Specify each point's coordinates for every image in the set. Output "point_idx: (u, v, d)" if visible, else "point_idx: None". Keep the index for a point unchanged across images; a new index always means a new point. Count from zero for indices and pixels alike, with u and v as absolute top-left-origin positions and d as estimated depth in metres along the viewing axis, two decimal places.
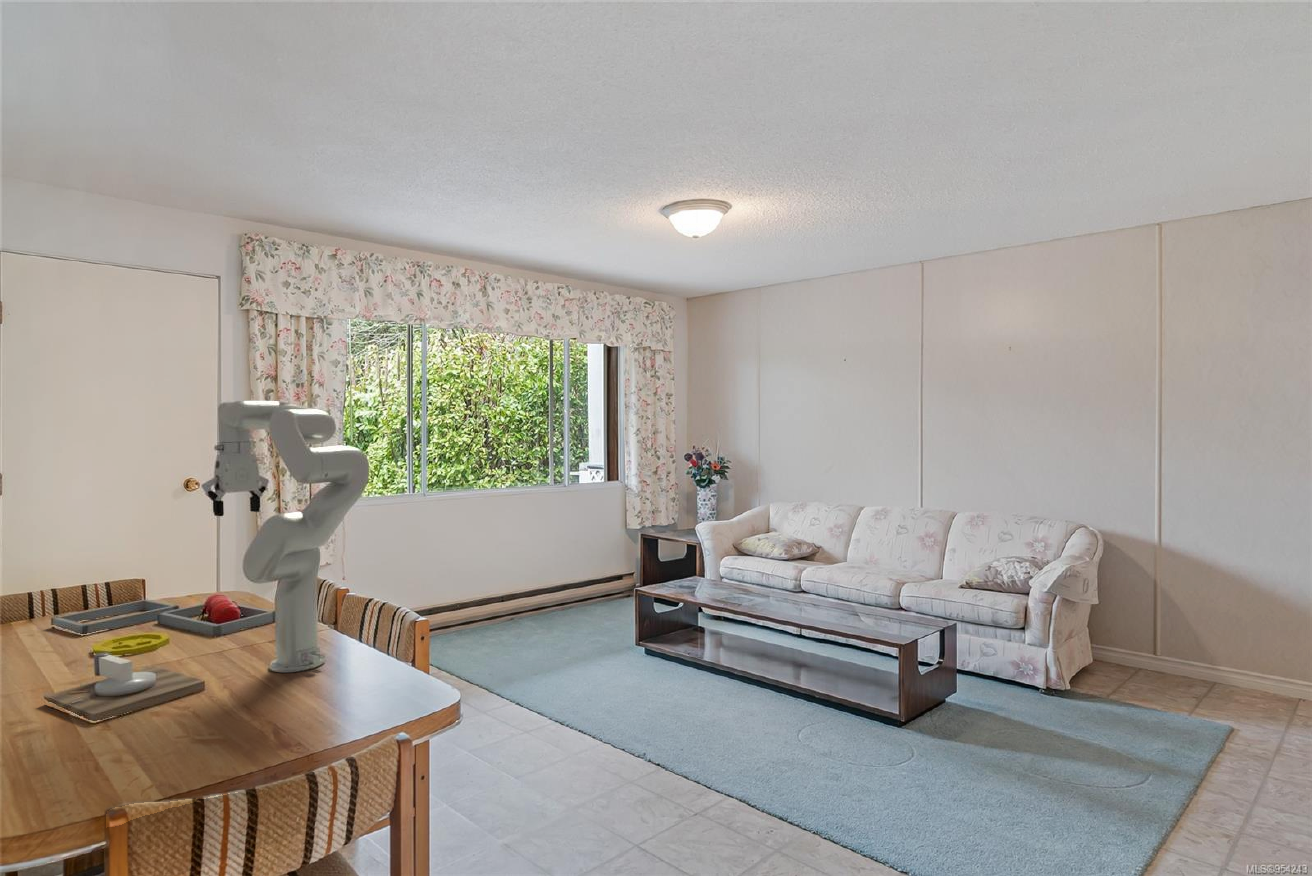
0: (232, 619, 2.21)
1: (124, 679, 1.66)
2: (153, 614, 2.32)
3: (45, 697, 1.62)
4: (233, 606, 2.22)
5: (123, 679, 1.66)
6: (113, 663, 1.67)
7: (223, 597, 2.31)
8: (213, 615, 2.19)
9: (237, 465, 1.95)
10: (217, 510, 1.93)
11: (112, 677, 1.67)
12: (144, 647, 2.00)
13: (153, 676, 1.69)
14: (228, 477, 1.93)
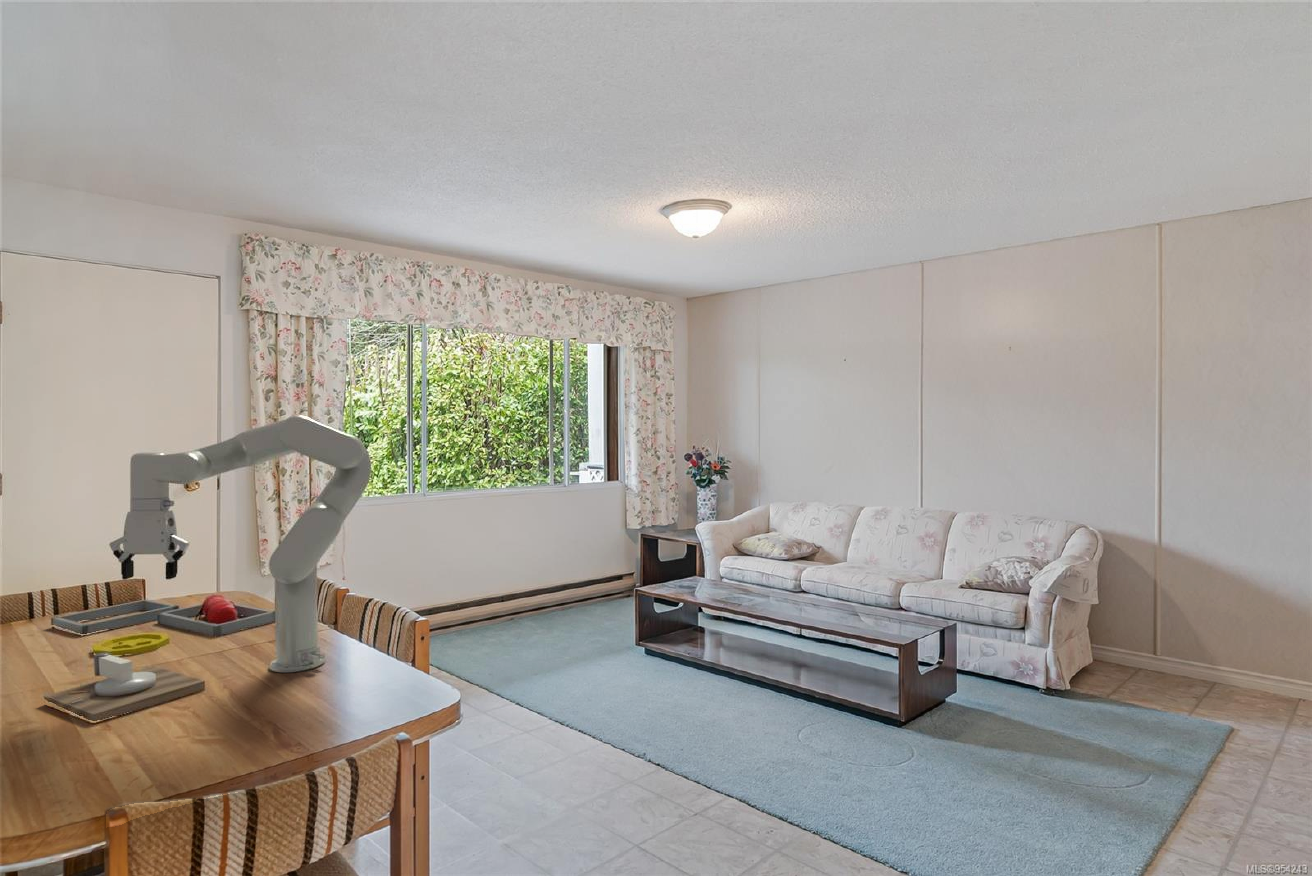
0: (228, 620, 2.20)
1: (124, 679, 1.66)
2: (153, 614, 2.32)
3: (45, 697, 1.62)
4: (229, 607, 2.22)
5: (123, 679, 1.66)
6: (113, 663, 1.67)
7: (220, 597, 2.31)
8: (209, 616, 2.19)
9: None
10: None
11: (112, 677, 1.67)
12: (144, 647, 2.00)
13: (153, 676, 1.69)
14: None
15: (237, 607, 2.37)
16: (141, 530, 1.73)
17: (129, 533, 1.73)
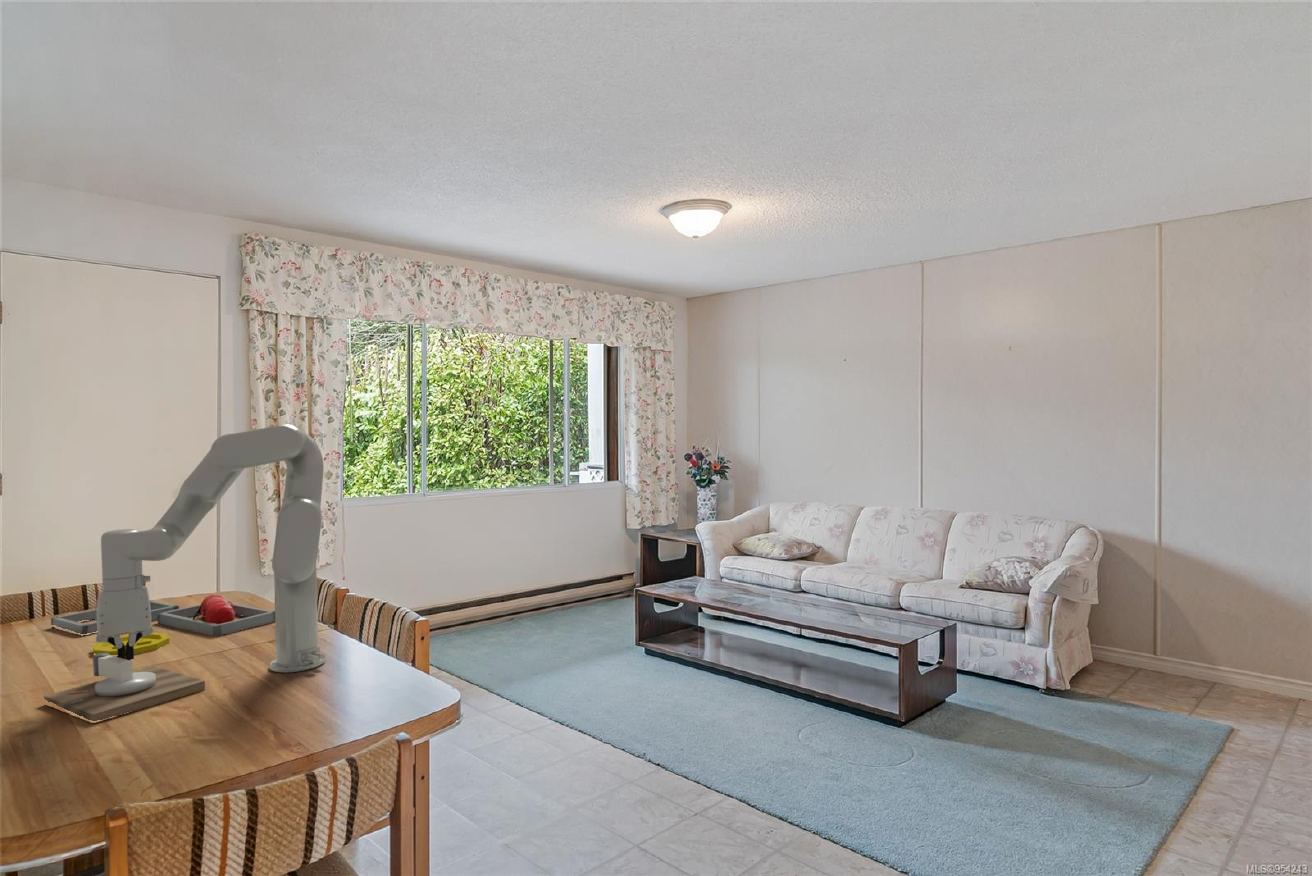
0: (226, 620, 2.20)
1: (124, 679, 1.66)
2: (153, 614, 2.32)
3: (45, 697, 1.62)
4: (227, 607, 2.21)
5: (123, 679, 1.66)
6: (113, 663, 1.67)
7: (219, 597, 2.31)
8: (207, 616, 2.19)
9: None
10: None
11: (112, 677, 1.67)
12: (144, 647, 2.00)
13: (153, 676, 1.69)
14: None
15: (237, 607, 2.37)
16: (122, 610, 1.70)
17: (107, 615, 1.68)
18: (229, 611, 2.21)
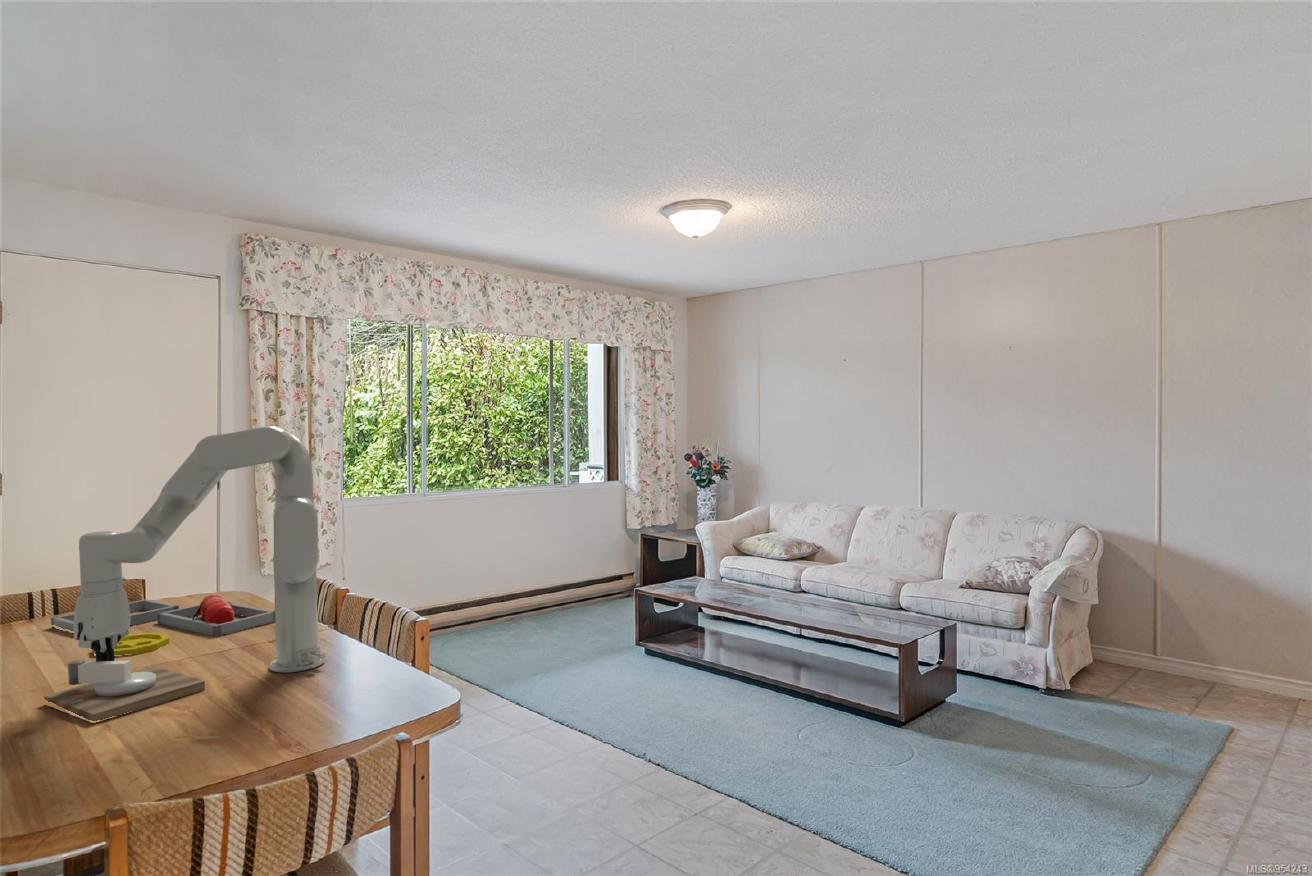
0: (225, 620, 2.20)
1: (126, 679, 1.66)
2: (153, 614, 2.32)
3: (45, 697, 1.62)
4: (227, 607, 2.21)
5: (126, 679, 1.66)
6: (109, 666, 1.65)
7: (218, 598, 2.31)
8: (207, 616, 2.19)
9: None
10: None
11: (106, 680, 1.65)
12: (144, 647, 2.00)
13: (151, 673, 1.71)
14: None
15: (237, 607, 2.37)
16: (109, 612, 1.68)
17: (96, 618, 1.65)
18: (229, 611, 2.21)
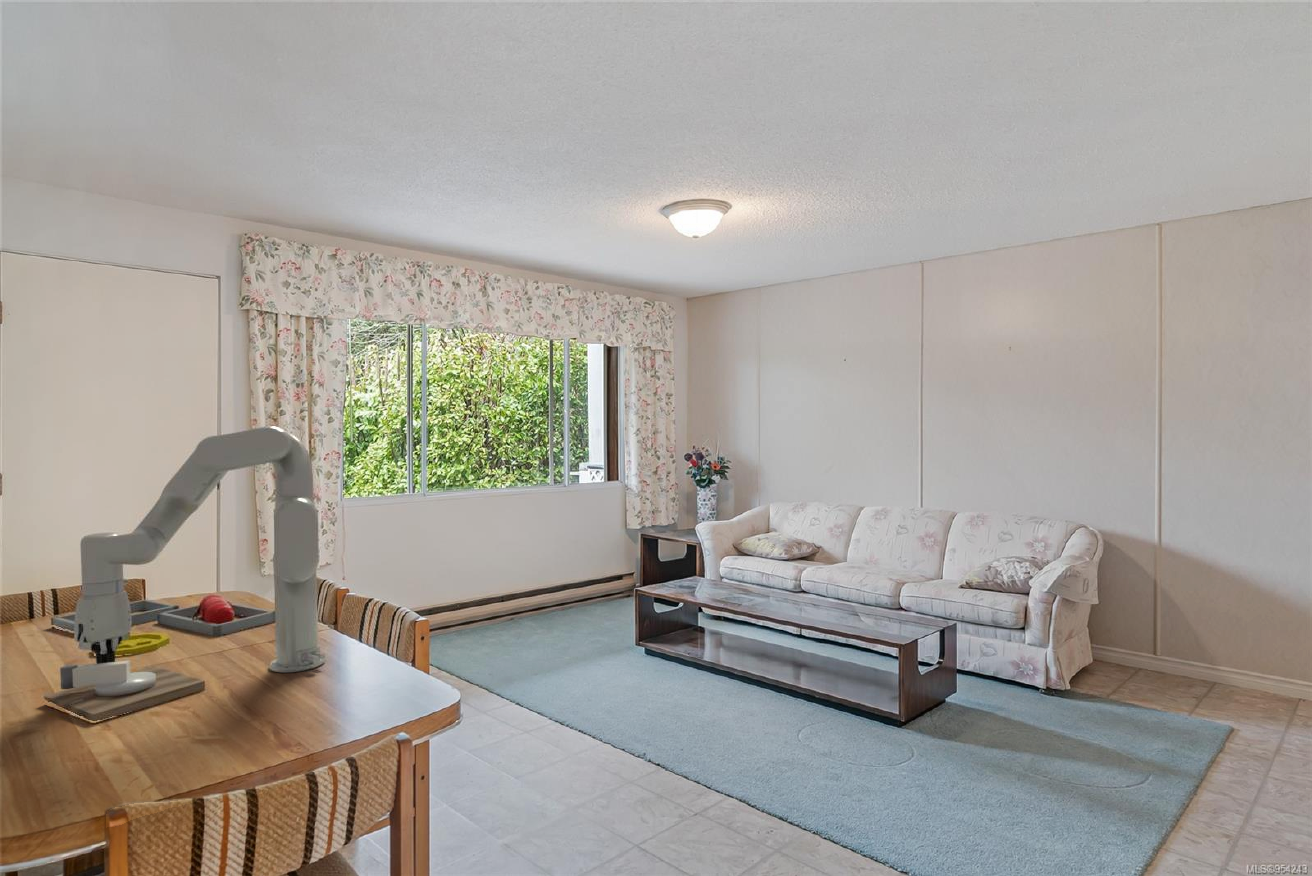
0: (225, 620, 2.20)
1: (127, 678, 1.66)
2: (153, 614, 2.32)
3: (45, 697, 1.62)
4: (227, 607, 2.21)
5: (127, 678, 1.66)
6: (109, 667, 1.64)
7: (218, 598, 2.31)
8: (206, 616, 2.19)
9: None
10: None
11: (105, 682, 1.64)
12: (144, 647, 2.00)
13: (147, 672, 1.71)
14: None
15: (237, 607, 2.37)
16: (110, 614, 1.67)
17: (97, 620, 1.65)
18: (229, 611, 2.21)
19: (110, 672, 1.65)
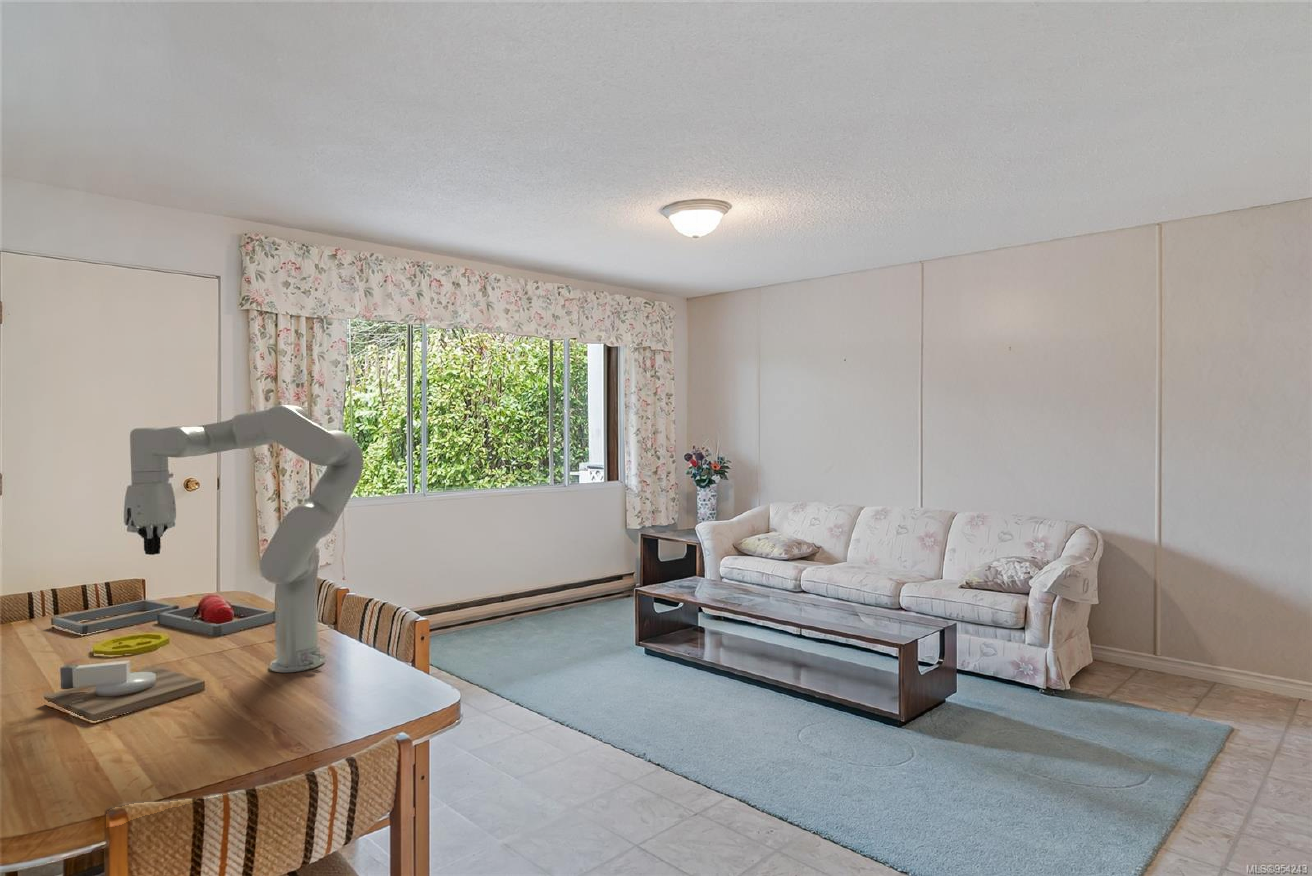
0: (225, 620, 2.20)
1: (127, 678, 1.66)
2: (153, 614, 2.32)
3: (45, 697, 1.62)
4: (226, 607, 2.21)
5: (127, 678, 1.66)
6: (109, 667, 1.64)
7: (217, 597, 2.31)
8: (206, 616, 2.19)
9: None
10: None
11: (105, 682, 1.64)
12: (144, 647, 1.99)
13: (147, 672, 1.71)
14: None
15: (237, 607, 2.37)
16: (155, 502, 1.81)
17: (143, 506, 1.78)
18: (228, 611, 2.21)
19: (110, 672, 1.65)
